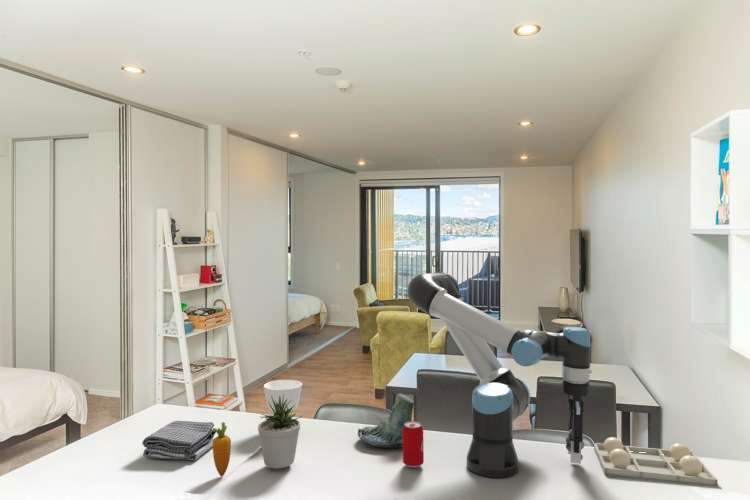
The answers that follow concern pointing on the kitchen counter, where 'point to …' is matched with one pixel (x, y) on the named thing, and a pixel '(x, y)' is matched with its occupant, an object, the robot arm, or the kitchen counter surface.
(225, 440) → the carrot
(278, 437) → the potted plant
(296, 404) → the cup
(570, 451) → the seashell
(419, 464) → the beverage can
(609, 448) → the egg far left
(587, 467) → the kitchen counter surface
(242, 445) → the kitchen counter surface
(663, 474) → the egg tray
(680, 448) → the egg far right
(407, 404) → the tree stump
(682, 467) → the egg near right
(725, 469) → the kitchen counter surface
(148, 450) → the towel
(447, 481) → the kitchen counter surface
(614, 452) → the egg near left
